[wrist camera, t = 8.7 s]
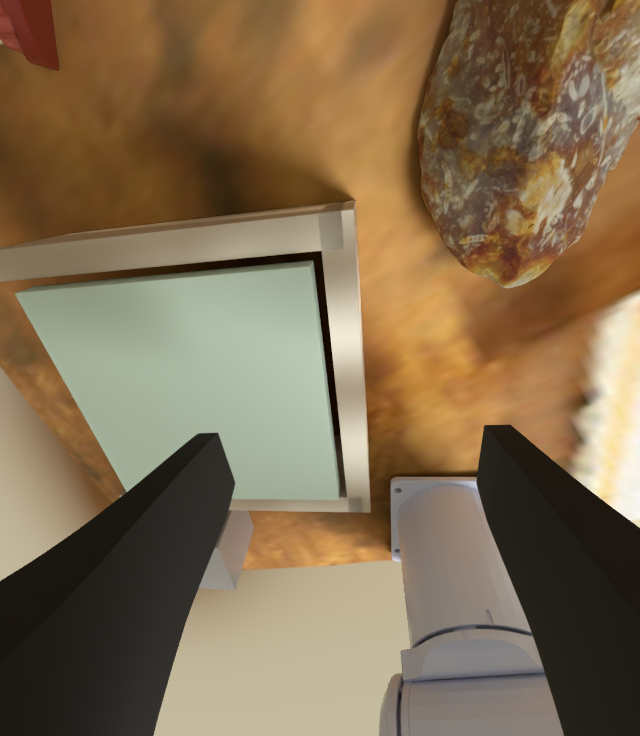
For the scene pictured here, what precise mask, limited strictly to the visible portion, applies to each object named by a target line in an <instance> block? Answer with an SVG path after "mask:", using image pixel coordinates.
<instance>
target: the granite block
mask: <svg viewBox="0 0 640 736" xmlns="http://www.w3.org/2000/svg"><path fill="white" fill-rule="evenodd" d="M253 530H254V526H253V523H252V520H251V517H250V514H249V511H242V510H229V511H228V514H227V518H226V520H225V523H224V526H223V528H222V531H221V533H220V536H219V538H218V541H217V543H216V546H215V548H214V551H213V553H212V556H211V558H210V561H209V563H208V566H207V568H206V571H205V573H204V576H203V578H202V581H201V583H200V586H199V588H208V589H226V590H235V589H236V586H237V583H238V580H239V577H240V573H241V570H242V567H243V563H244V560H245V557H246V554H247V550H248V547H249V544H250V540H251V537H252V534H253Z"/></svg>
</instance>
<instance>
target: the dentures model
mask: <svg viewBox="0 0 640 736" xmlns="http://www.w3.org/2000/svg"><path fill="white" fill-rule="evenodd" d="M2 44H4V45H5V46H7V47H8V48H10V49H12V50H15V51H18V52H21V53H22V54H24V55H25V56H26V58H27V60H28V61H29V62H31V63H33V64H37V65H40V66H43V67H47V68H50V69H53V70H59V65H58V57H57V49H56V41H55V33H54V25H53V17H52V9H51V1H50V0H0V45H2Z"/></svg>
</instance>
